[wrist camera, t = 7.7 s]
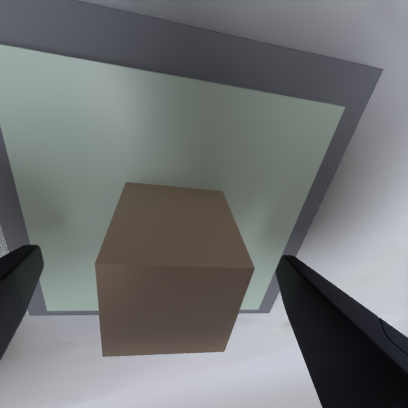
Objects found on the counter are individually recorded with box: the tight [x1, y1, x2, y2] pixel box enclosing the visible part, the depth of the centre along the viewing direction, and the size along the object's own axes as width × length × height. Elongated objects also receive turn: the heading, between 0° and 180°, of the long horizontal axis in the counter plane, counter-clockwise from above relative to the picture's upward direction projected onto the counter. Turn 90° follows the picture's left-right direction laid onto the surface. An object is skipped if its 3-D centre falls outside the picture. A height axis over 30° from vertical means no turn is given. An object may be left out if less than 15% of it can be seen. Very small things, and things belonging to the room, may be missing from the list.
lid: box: [0, 44, 345, 357], centre depth 9 cm, size 12×12×5 cm
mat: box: [0, 0, 383, 315], centre depth 12 cm, size 15×15×1 cm
